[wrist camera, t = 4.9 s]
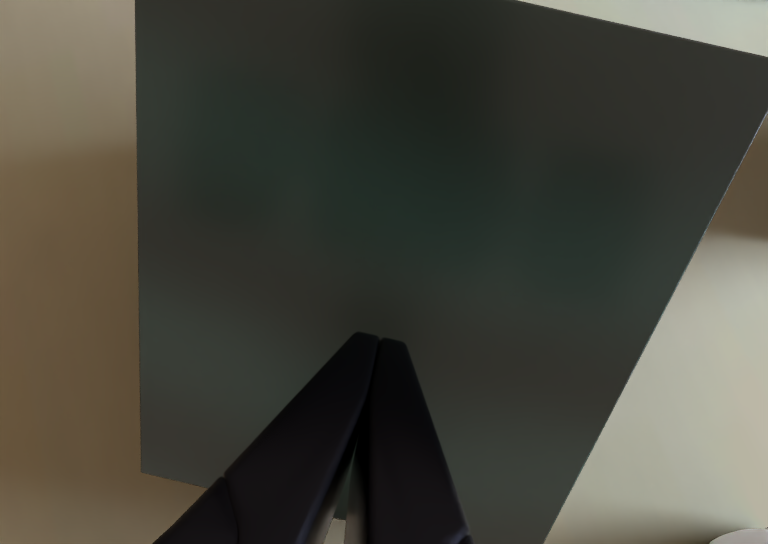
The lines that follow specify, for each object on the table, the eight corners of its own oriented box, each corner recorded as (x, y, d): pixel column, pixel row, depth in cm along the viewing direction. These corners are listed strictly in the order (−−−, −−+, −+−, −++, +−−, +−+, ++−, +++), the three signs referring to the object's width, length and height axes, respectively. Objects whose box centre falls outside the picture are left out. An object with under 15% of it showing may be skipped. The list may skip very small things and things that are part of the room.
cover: (152, -81, 10) (132, -87, 9) (772, 60, 9) (795, 62, 9) (152, 454, 16) (140, 473, 15) (529, 542, 16) (533, 565, 15)
